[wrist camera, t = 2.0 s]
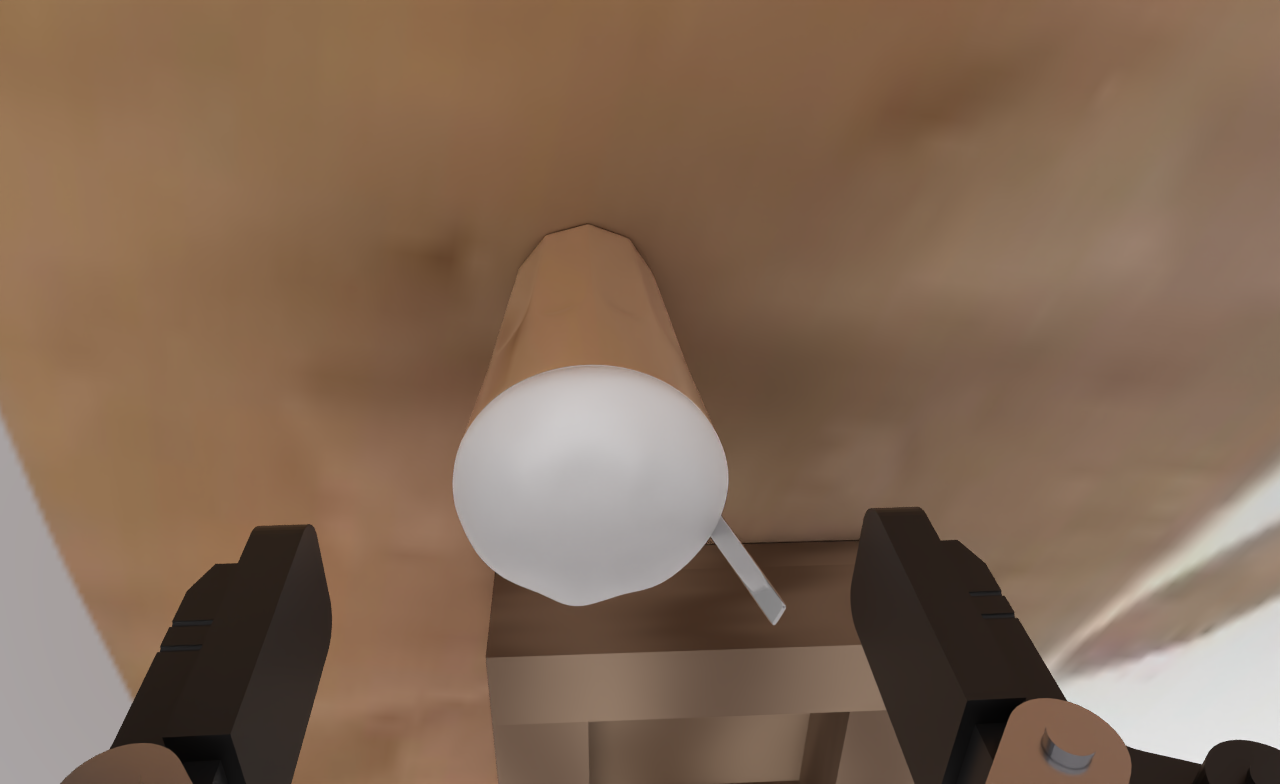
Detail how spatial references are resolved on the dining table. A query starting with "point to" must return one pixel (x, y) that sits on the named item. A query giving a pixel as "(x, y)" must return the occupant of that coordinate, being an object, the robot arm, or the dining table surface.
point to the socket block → (692, 680)
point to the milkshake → (593, 436)
